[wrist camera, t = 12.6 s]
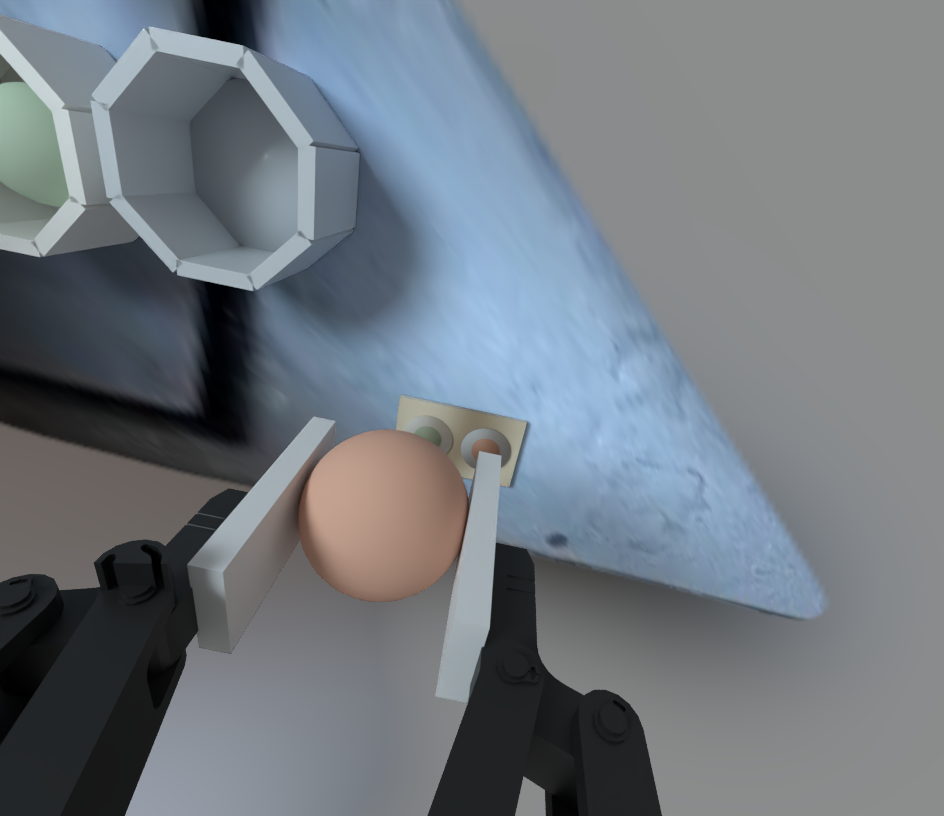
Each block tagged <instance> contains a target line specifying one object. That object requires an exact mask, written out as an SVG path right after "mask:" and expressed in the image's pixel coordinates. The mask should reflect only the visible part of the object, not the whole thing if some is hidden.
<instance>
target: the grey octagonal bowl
mask: <svg viewBox="0 0 944 816" xmlns="http://www.w3.org/2000/svg"><path fill="white" fill-rule="evenodd" d="M91 95H92V96H93V98H94V99H95V100H96V101H91V100H90V102H91V108H92V114H93V120H94V126H95V131H96V137H97V143H98V149H99V155H100V160H101V166H102V172H103V178H104V184H105V190H106V195H107V197H108V198H113V199H112V200H111V201H110V204H111V205H112V206H113V207H114V208H115V209H116V210H117V211H118V212H119V214H120V215H121V216H122V217H123V218H124V219H125V220H126V221H127V222H128V223H129V225H130V226H131V227H132V228H133V229H134V230H135V231H136V232H137V233H138V234H139V236H140V237H141V238H142V239H143V240H144V241H145V242H146V243H147V244H148V246H149V247H150V248H151V249H152V250H153V251H154V252H155V253H156V254H157V255H158V257H159V258H160V259H161V260H162V261H163V262H164V263H165V264H166V265H167V266H168V268H169V269H170V270H171V271H172V272H177V275H179V276H184V277H188V278H193V279H198V280H203V281H208V282H212V283H217V284H222V285H227V286H232V287H236V288H241V289H246V290H251V291H254V290H256V289H257V290H258V289H261V288H263V287H265V286H268V285H270V284H272V283H275V282H277V281H279V280H282V279H284V278H286V277H289V276H291V275H293V274H296V273H298V272H300V271H303V270H305V269H307V268H309V267H310V266H311V265H312V264H314V263H315V262H316V261H317V260H318V259H320V258H321V257H322V256H323V255H325V254H326V253H327V252H328V251H330V250H331V249H332V248H333V247H334V246H336V245H337V244H338V243H339V242H341V241H342V240H343V239H344V238H346V237H347V236H348V235H349V234H350V233H352V232H353V231H354V230H353V229H352V228H355V227H356V211H357V194H358V177H359V161H360V153H357V152H355V151H356V150H357V149H358V147H357V145H356V144H355V142H354V141H353V139H352V138H351V137H350V135H349V134H348V132H347V131H346V129H345V128H344V126H343V125H342V123H341V122H340V120H339V119H338V118H337V116H336V115H335V113H334V112H333V110H332V109H331V107H330V106H329V104H328V103H327V101H326V100H325V99H324V97H323V96H322V94H321V93H320V91H319V90H318V88H317V87H316V85H315V84H314V82H313V81H312V80H311V78H309V77H307V75H305V74H303V73H301V72H298V71H296V70H294V69H292V68H290V67H288V66H286V65H283V64H281V63H279V62H277V61H275V60H273V59H271V58H268V57H266V56H264V55H262V54H260V53H258V52H256V51H253V50H251V49H249V48H247V47H245V46H242V45H237V44H233V43H228V42H223V41H218V40H213V39H208V38H203V37H199V36H194V35H189V34H184V33H179V32H174V31H169V30H165V29H160V28H155V27H150V26H149V30H148V29H145V28H143V30H142V31H141V32H140V34H139V35H138V36H137V37H136V39H135V40H134V41H133V42H132V44H131V45H130V46H129V48H128V49H127V50H126V51H125V53H124V54H123V55H122V56H121V58H120V59H119V60H118V61H117V63H116V64H115V65H114V67H113V68H112V69H111V70H110V72H109V73H108V74H107V75H106V77H105V78H104V79H103V80H102V82H101V83H100V84H99V86H98V87H97V88H96V89H95V91H94V92H93V93H92V94H91Z"/></svg>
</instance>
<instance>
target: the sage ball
mask: <svg viewBox="0 0 944 816" xmlns="http://www.w3.org/2000/svg"><path fill="white" fill-rule="evenodd" d="M0 181H1V182H2V183H3V184H5V185H6V186H7V187H9V188H10V189H12V190H14V191H15V192H17V193H19V194H20V195H22V196H24V197H26V198H28V199H31V200H33V201H36V202H39V203H42V204H46V205H51V206H56V207H62V206H63V204H64V203H65V202H66V201H67V200H68V199H69V192H68V187H67V183H66V178H65V173H64V168H63V163H62V158H61V154H60V149H59V144H58V139H57V134H56V129H55V125H54V120H53V115H52V111H51V110H50V109H49V108H48V107H47V106H46V105H45V103H44V102H43V101H42V100H41V99H40V98H39V97H38V96H37V94H36V93H35V92H34V91H33V90H32V89H31V88H30V87H29V85H28V84H27V83H26V82H7V83H2V84H0Z"/></svg>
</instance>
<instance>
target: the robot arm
mask: <svg viewBox="0 0 944 816" xmlns="http://www.w3.org/2000/svg"><path fill="white" fill-rule="evenodd" d="M335 425H336V421H333V420H328V419H323V418H318V417H313V418H312V419H311V420H310V421H309V422H308V424H307V425H306V426H305V427H304V428H303V429H302V431H301V432H300V433H299V434H298V435H297V436H296V438H295V439H294V440H293V441H292V442H291V443H290V445H289V446H288V447H287V448H286V449H285V451H284V452H283V453H282V454H281V455H280V456H279V458H278V459H277V460H276V461H275V462H274V463H273V465H272V466H271V467H270V468H269V469H268V470H267V472H266V473H265V474H264V475H263V476H262V477H261V479H260V480H259V481H258V482H257V483H256V484H255V486H254V487H253V488H252V489H251V490H250V492H249V493H248V492H243V491H239V490H234V489H227V490H225V491H224V492H222V493H220V494H218V495H216V496H215V497H213V498H211V499H210V500H209V501H208V502H207V503H206V504H205V505H204V506H203V507H202V508H201V509H200V511H199V512H198V514H196V515H195V516H194V517H193V518H192V519H191V520H190V521H189V522H188V524H187V526H186V525H185V526H184V527H183V528H182V529H181V531H180V532H179V533H177V535H176V536H175V537H174V538H173V539H172V540H171V541H170V542H169V543H168V544H167V545H166V546H164V545H163V544H161V543H159V542H157V541H151V540H138V541H130V542H127V543H124V544H121V545H118V546H115V547H114V548H112V549H110V550H108V551H107V552H105V553H103V554H102V555H101V556H100V557H99V558H98V559H97V560H96V561H95V562H94V565H95V569H96V572H97V576H98V580H99V583H100V587H98V588H87V589H74V590H73V589H72V590H59V589H58V586H57V584H56V582H55V580H54V579H53V578H51V577H48V576H46V575H41V574H28V575H24V576H18V577H13V578H11V579H8V580H6V581H3V582H1V583H0V816H125V814H126V811H127V809H128V806H129V804H130V801H131V799H132V796H133V794H134V791H135V789H136V786H137V784H138V781H139V779H140V776H141V774H142V771H143V769H144V766H145V763H146V761H147V759H148V756H149V754H150V751H151V749H152V746H153V744H154V741H155V739H156V736H157V734H158V731H159V729H160V726H161V724H162V721H163V719H164V716H165V714H166V711H167V709H168V706H169V704H170V701H171V699H172V696H173V694H174V691H175V689H176V686H177V684H178V681H179V679H180V676H181V674H182V671H183V669H184V666H185V661H186V656H187V655H186V647H187V646H188V644H189V643H190V641H191V640H192V639H193V637H194V636H195V634H196V633H197V636H198V643H199V648H204V649H209V650H214V651H219V652H224V653H229V654H231V653H232V651H233V650H234V648H235V646H236V645H237V643H238V641H239V640H240V638H241V636H242V635H243V633H244V631H245V630H246V628H247V626H248V625H249V623H250V621H251V620H252V618H253V616H254V615H255V613H256V611H257V610H258V608H259V606H260V605H261V603H262V601H263V600H264V598H265V596H266V595H267V593H268V592H269V590H270V588H271V586H272V585H273V583H274V581H275V580H276V578H277V576H278V575H279V573H280V572H281V570H282V568H283V567H284V565H285V563H286V562H287V560H288V558H289V557H290V555H291V553H292V552H293V550H294V548H295V547H296V545H297V543H298V541H299V540H300V535H299V526H298V511H299V504H300V499H301V495H302V492H303V489H304V486H305V484H306V482H307V480H308V478H309V476H310V474H311V472H312V471H313V469H314V468H315V467H316V465H317V464H318V463H319V461H320V460H321V459H322V458H323V457H324V456H325V455H326V454H327V453H328V452H329V451H330V450H332V449H333V448H334V444H335ZM500 470H501V455H496V454H491V453H486V452H482V451H479V455H478V459H477V463H476V468H475V472H474V476H473V481H472V485H471V490H470V494H469V498H468V502H469V512H468V518H467V524H466V529H465V534H464V538H463V543H462V547H461V550H460V552H459V554H458V560H457V566H456V572H455V578H454V584H453V590H452V596H451V603H450V608H449V614H448V620H447V627H446V633H445V639H444V645H443V651H442V657H441V663H440V669H439V675H438V682H437V688H436V694H435V696H436V697H441V698H445V699H450V700H455V701H460V702H465V703H467V700H468V697H469V701H468V705H467V707H466V710H465V713H464V716H463V719H462V721H461V724H460V727H459V730H458V733H457V735H456V738H455V741H454V744H453V746H452V749H451V752H450V755H449V758H448V760H447V763H446V766H445V769H444V772H443V775H442V777H441V780H440V783H439V786H438V788H437V791H436V794H435V797H434V799H433V802H432V805H431V808H430V810H429V813H428V816H515V812H516V808H517V803H518V799H519V794H520V789H521V785H522V780H523V776H524V777H526V778H527V779H529V780H530V781H532V782H534V783H535V784H537V785H538V786H540V787H541V788H543V789H545V802H546V816H662V814H661V810H660V805H659V800H658V795H657V791H656V786H655V781H654V777H653V772H652V768H651V763H650V758H649V753H648V749H647V744H646V740H645V735H644V730H643V727H642V725H641V722H640V720H639V717H638V715H637V714H636V713H635V711H634V710H633V708H632V707H631V706H630V704H629V703H627V702H626V701H625V700H624V699H622V698H621V697H620V696H619V695H617V694H614V693H612V692H609V691H607V690H593V691H591V692H590V693H587V694H585V696H584V695H582V694H581V693H579V692H577V691H575V690H573V689H572V688H570V687H568V686H566V685H564V684H563V683H561V682H560V681H559V680H557V679H556V678H554V677H553V676H552V675H551V674H550V673H549V672H548V671H547V669H546V668H545V666H544V665H543V663H542V661H541V659H540V656H539V654H538V648H537V632H536V604H535V584H534V581H535V575H534V563H533V561H532V559H531V557H530V555H529V553H528V551H527V549H523V548H518V547H513V546H509V545H504V544H499V543H496V529H497V514H498V500H499V485H500Z"/></svg>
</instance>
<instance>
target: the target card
mask: <svg viewBox="0 0 944 816" xmlns="http://www.w3.org/2000/svg"><path fill="white" fill-rule="evenodd" d="M526 424H527V421H525V420H520V419H515V418H511V417H506V416H501V415H496V414H491V413H487V412H482V411H477V410H472V409H467V408H463V407H458V406H453V405H448V404H443V403H439V402H434V401H429V400H424V399H420V398H415V397H410V396H405V395H401V396H400V400H399V408H398V417H397V425H396V430H400V431H406V432H409V433H413V434H416V435H418V436H421V437H423V438H425V439H427V440H429V441H430V442H432V443H433V444H435V445H436V446H438V447H439V448H440V449H441V450H442V451H443V452H445V454H446V455H447V456H448V457H449V458H450V459H451V460H452V462H453V463H454V465H455V466H456V468H457V469H458V471H459V473H460V475H461V477H462V478H467V479H472V480H473V476H474V472H475V468H476V463H477V459H478V455H479V451H482V452H486V453H491V454H496V455H501V470H500V485H501V486H505V487H509V486H510V483H511V479H512V475H513V472H514V468H515V464H516V461H517V457H518V454H519V450H520V446H521V443H522V439H523V435H524V432H525V428H526Z"/></svg>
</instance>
